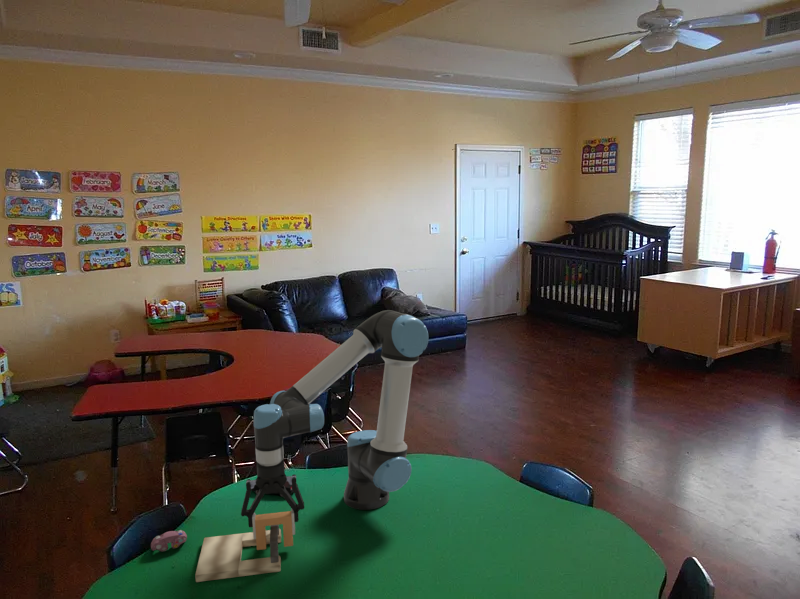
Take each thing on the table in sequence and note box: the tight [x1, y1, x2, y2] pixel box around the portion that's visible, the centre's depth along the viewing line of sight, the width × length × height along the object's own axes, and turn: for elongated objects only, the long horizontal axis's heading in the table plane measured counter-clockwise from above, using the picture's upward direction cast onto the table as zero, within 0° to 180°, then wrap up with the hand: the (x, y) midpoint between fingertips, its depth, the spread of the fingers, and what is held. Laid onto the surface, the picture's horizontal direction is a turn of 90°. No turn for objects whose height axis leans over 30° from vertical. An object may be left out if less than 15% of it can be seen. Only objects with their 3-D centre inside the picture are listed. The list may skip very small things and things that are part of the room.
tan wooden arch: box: [255, 510, 294, 551], centre depth 168 cm, size 10×3×9 cm, turn 101°
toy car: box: [251, 481, 299, 498], centre depth 204 cm, size 7×16×5 cm, turn 77°
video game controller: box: [150, 529, 188, 553], centre depth 172 cm, size 10×5×7 cm, turn 118°
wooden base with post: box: [195, 524, 282, 583], centre depth 167 cm, size 22×18×8 cm
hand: (274, 534), depth 168 cm, fingers closed on tan wooden arch, 10 cm apart
